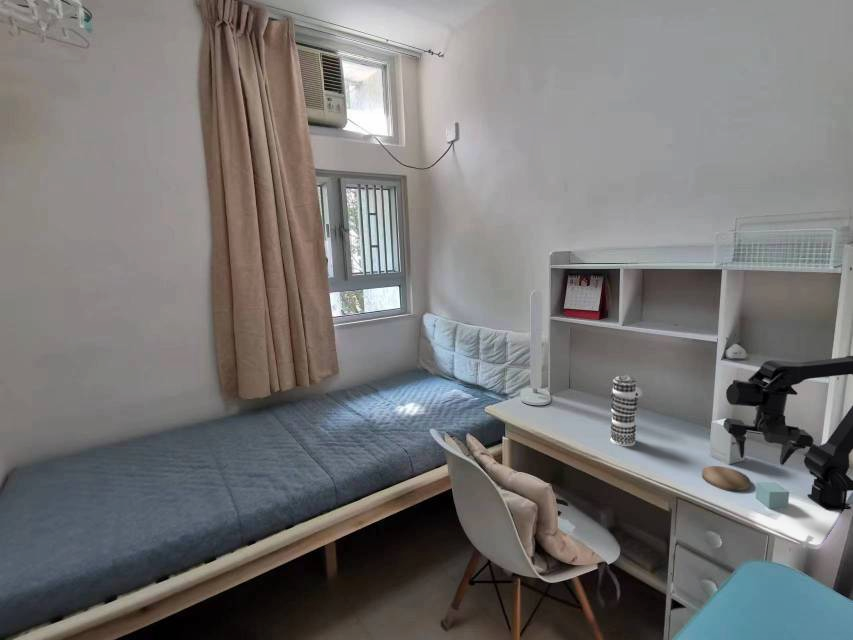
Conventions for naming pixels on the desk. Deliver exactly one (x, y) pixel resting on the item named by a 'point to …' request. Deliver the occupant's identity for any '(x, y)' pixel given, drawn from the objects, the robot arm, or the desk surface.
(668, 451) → the desk surface
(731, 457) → the supplement box
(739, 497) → the desk surface
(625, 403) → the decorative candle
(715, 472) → the walnut base
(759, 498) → the teal block
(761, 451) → the desk surface
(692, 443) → the desk surface
